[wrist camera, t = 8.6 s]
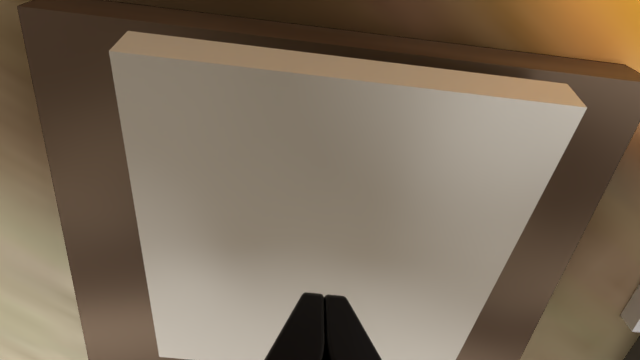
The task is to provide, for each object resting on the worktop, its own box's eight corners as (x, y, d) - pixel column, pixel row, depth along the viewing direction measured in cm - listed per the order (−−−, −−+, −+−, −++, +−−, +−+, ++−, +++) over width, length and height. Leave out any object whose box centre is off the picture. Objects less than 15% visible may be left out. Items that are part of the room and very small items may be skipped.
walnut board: (462, 419, 21) (471, 454, 20) (116, 390, 20) (101, 424, 19) (624, 65, 13) (658, 84, 11) (50, -7, 12) (17, 6, 11)
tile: (587, 107, 9) (565, 81, 10) (109, 50, 9) (129, 28, 10) (444, 382, 15) (438, 351, 16) (159, 356, 15) (168, 326, 16)
